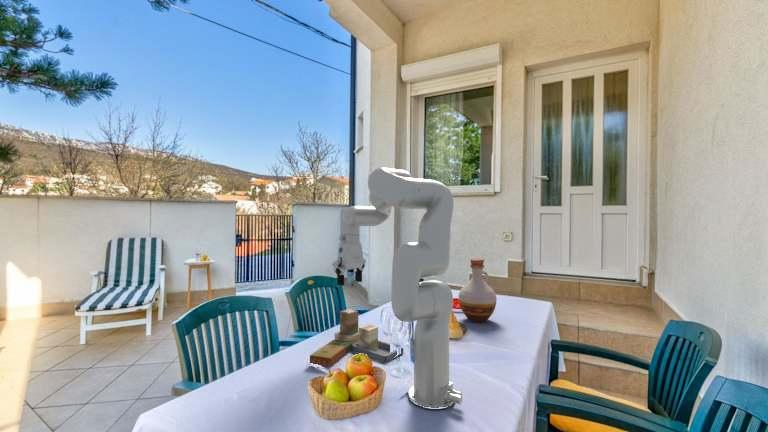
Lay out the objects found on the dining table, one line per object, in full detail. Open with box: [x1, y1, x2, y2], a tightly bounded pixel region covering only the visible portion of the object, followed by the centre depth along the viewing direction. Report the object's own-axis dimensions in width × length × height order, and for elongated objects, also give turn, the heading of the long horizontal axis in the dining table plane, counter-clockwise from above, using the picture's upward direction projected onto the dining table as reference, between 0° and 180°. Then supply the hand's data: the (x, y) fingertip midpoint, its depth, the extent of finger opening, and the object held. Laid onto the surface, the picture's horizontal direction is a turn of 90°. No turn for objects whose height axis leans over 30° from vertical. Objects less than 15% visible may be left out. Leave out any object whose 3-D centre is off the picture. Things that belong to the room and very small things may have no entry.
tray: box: [350, 339, 404, 364], centre depth 118 cm, size 16×10×3 cm, turn 51°
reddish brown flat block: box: [309, 339, 352, 368], centre depth 115 cm, size 8×16×4 cm, turn 160°
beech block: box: [358, 324, 379, 351], centre depth 121 cm, size 5×5×8 cm
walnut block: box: [339, 308, 359, 335], centre depth 127 cm, size 5×5×8 cm
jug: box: [458, 257, 497, 324], centre depth 161 cm, size 20×18×30 cm
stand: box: [334, 329, 359, 345], centre depth 127 cm, size 8×8×5 cm
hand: (349, 283), depth 127 cm, fingers open, 9 cm apart
